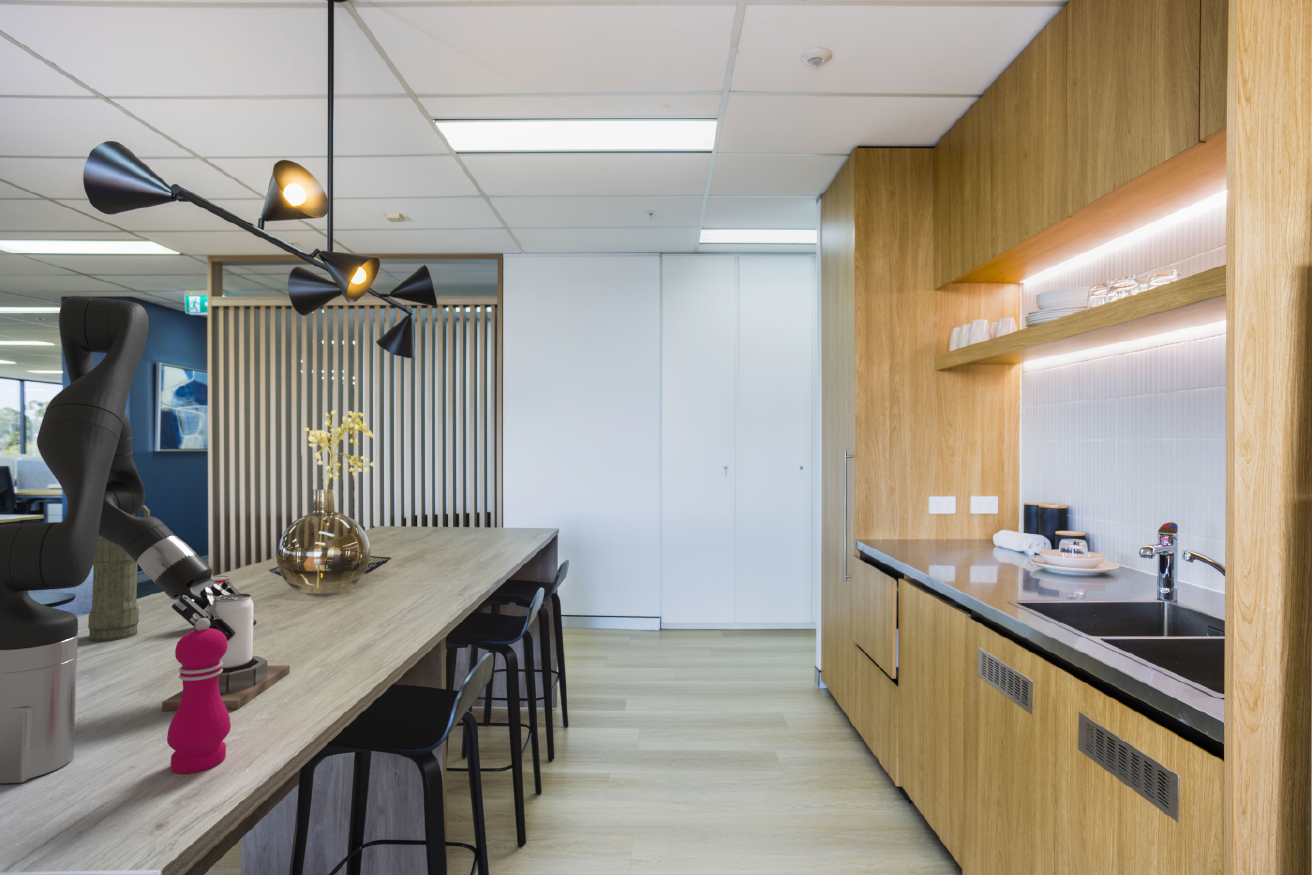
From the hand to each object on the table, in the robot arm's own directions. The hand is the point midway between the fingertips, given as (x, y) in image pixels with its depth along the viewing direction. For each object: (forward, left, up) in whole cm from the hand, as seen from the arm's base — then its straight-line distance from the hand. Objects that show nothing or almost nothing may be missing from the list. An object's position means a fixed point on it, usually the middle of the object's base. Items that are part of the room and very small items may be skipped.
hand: (241, 632), depth 117 cm
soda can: (+44, +30, -11) cm, 54 cm away
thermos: (+37, +48, -11) cm, 61 cm away
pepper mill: (-28, -9, -11) cm, 32 cm away
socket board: (0, +2, -10) cm, 11 cm away
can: (0, +2, -6) cm, 6 cm away
